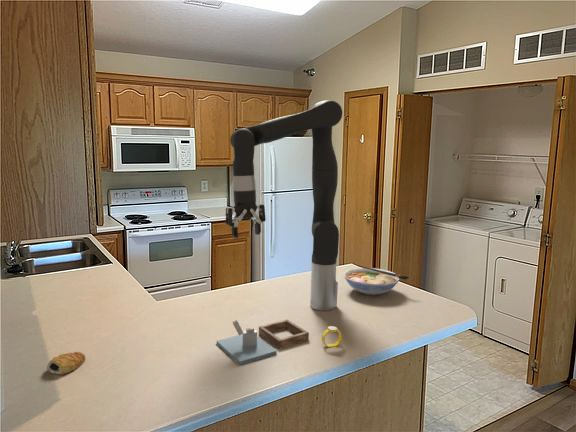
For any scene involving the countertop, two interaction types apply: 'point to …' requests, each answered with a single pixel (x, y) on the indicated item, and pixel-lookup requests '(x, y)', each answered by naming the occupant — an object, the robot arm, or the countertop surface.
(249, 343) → the lighter
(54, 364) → the pastry
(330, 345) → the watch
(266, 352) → the slate board
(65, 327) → the countertop surface
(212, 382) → the countertop surface
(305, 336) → the frame
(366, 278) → the ramen bowl
